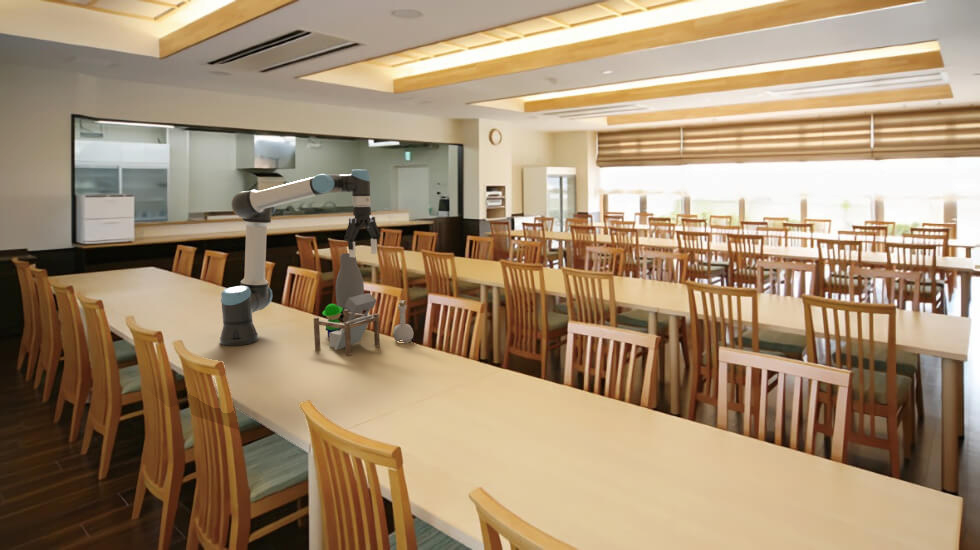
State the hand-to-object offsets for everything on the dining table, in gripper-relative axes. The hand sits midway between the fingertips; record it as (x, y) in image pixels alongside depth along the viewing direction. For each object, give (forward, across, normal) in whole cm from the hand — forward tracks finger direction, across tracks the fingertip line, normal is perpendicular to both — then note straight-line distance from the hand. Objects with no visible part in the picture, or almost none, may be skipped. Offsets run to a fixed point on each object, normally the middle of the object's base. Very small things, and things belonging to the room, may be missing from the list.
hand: (363, 255), depth 251 cm
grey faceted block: (+26, -16, -10) cm, 32 cm away
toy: (+37, -6, +14) cm, 40 cm away
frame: (+37, -16, -4) cm, 40 cm away
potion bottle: (+37, +3, -18) cm, 41 cm away
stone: (+34, -16, -2) cm, 37 cm away
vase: (+37, +12, +20) cm, 44 cm away
